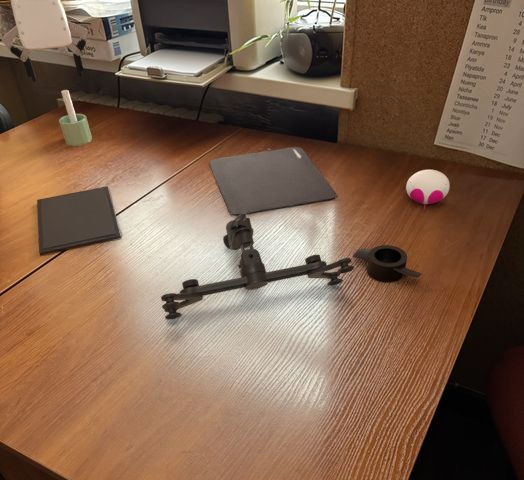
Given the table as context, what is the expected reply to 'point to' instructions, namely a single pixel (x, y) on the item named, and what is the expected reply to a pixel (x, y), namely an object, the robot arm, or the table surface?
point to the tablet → (76, 220)
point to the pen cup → (75, 130)
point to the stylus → (69, 106)
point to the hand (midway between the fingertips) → (57, 77)
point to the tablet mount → (250, 270)
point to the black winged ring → (385, 263)
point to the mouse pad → (269, 180)
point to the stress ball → (427, 186)
